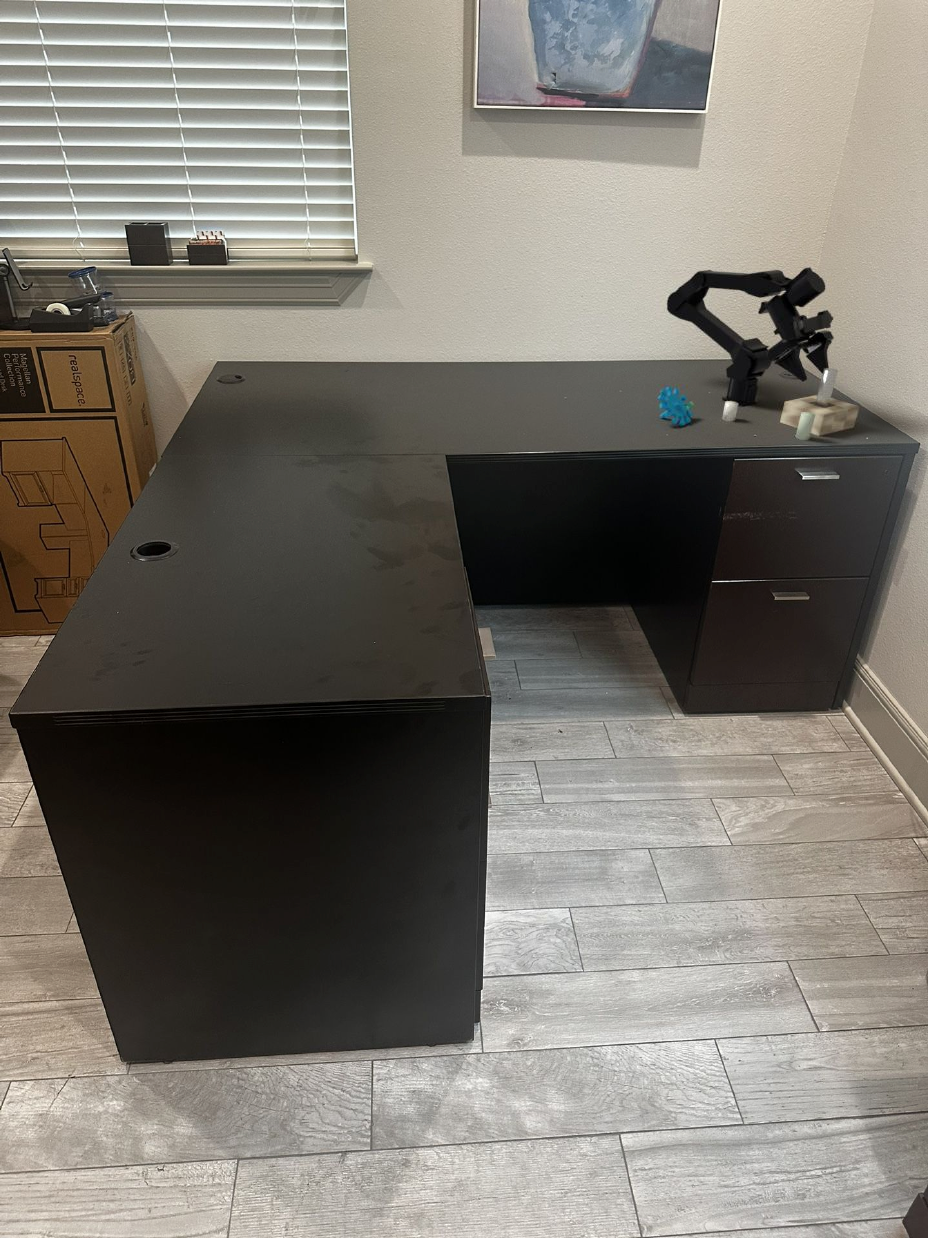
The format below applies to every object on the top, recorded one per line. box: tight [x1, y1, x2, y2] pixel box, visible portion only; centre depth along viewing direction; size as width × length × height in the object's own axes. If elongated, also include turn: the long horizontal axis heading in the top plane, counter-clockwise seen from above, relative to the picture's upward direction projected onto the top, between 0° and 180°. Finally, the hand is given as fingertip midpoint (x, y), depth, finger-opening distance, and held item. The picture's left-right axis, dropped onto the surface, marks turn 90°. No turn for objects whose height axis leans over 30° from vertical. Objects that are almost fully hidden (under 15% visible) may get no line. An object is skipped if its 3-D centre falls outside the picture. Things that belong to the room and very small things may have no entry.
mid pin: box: [795, 412, 815, 441], centre depth 188 cm, size 3×3×6 cm
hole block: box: [779, 394, 860, 437], centre depth 197 cm, size 11×13×5 cm
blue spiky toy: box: [657, 386, 695, 427], centre depth 197 cm, size 11×6×10 cm
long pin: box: [815, 367, 838, 408], centre depth 195 cm, size 3×3×13 cm
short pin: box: [721, 400, 739, 423], centre depth 199 cm, size 3×3×4 cm
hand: (816, 377), depth 195 cm, fingers open, 9 cm apart
